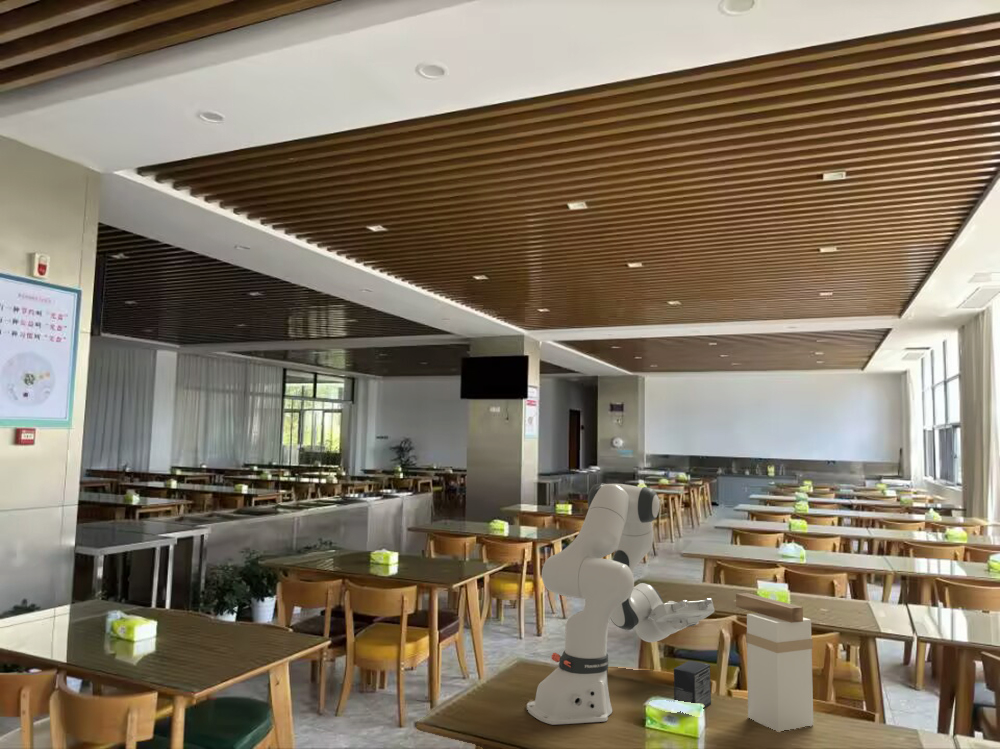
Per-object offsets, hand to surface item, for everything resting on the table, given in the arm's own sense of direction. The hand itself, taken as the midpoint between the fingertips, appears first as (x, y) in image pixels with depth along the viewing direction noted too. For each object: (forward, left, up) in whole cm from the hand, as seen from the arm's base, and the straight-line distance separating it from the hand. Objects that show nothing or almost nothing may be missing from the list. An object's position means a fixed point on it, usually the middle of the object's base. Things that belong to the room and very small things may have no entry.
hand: (698, 601), depth 206 cm
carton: (0, -31, -24) cm, 39 cm away
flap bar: (0, -27, +2) cm, 27 cm away
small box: (-14, -14, -24) cm, 31 cm away
